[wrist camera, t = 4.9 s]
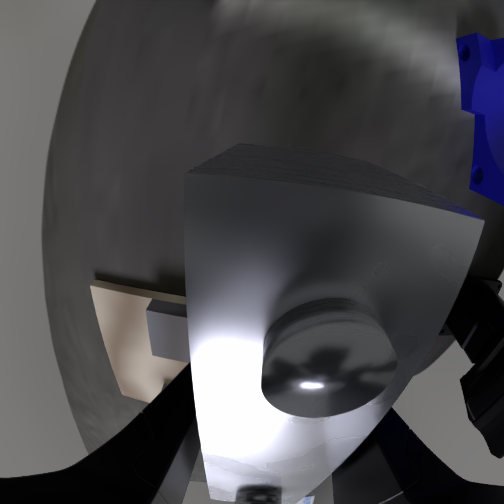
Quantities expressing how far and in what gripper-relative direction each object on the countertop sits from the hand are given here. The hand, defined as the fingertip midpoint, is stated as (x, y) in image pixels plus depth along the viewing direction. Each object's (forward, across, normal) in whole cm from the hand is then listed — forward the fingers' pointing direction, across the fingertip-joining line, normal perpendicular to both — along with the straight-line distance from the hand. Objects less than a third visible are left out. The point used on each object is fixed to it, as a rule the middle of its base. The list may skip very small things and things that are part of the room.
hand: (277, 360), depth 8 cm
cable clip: (+12, -14, -12) cm, 22 cm away
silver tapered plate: (+2, 0, 0) cm, 2 cm away
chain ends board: (+12, +5, +15) cm, 19 cm away
